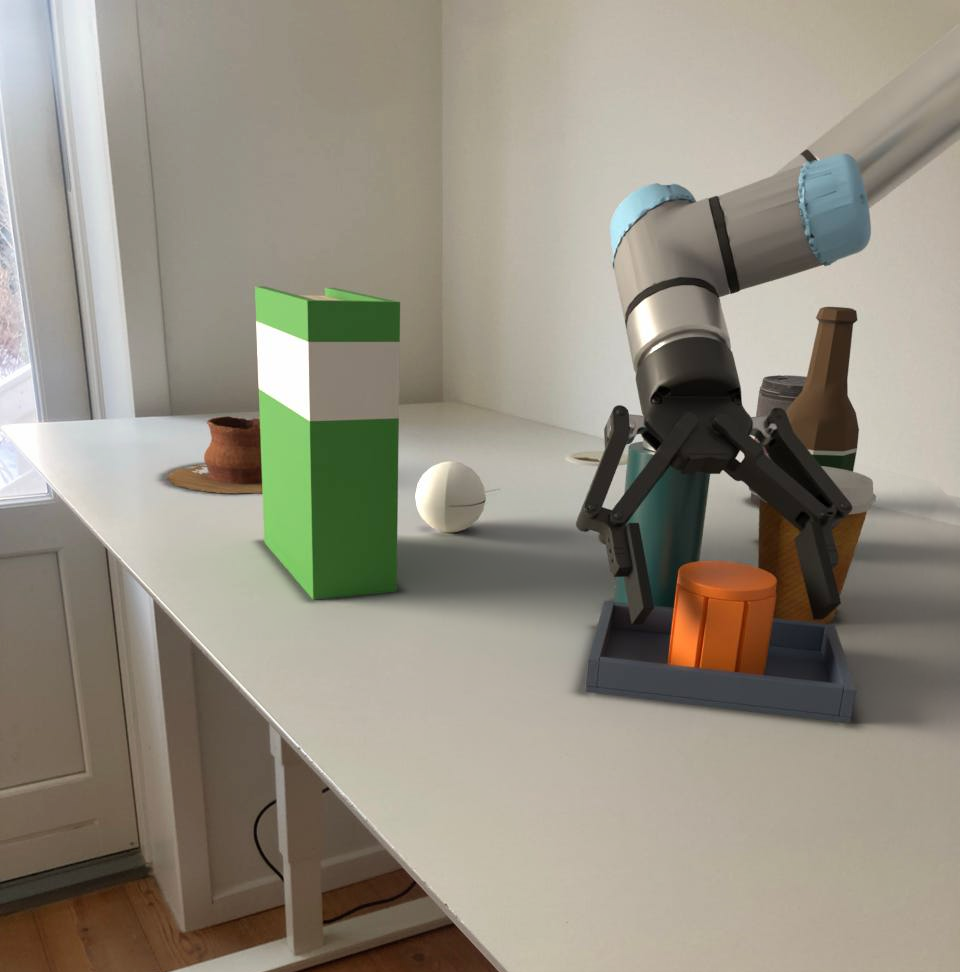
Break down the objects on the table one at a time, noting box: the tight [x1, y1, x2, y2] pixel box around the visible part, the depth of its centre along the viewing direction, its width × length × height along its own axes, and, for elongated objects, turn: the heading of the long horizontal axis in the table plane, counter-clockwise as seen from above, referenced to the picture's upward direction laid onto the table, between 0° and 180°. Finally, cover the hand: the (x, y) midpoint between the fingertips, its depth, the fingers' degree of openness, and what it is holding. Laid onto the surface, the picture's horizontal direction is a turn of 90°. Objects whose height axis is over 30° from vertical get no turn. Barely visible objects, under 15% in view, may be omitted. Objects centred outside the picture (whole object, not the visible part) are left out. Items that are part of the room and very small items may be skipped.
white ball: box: [415, 461, 501, 534], centre depth 107 cm, size 10×7×7 cm
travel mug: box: [748, 374, 807, 508], centre depth 121 cm, size 8×8×15 cm
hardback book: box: [254, 285, 401, 601], centre depth 90 cm, size 18×7×24 cm, turn 24°
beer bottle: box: [786, 306, 860, 472], centre depth 102 cm, size 8×8×24 cm
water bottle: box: [613, 438, 711, 608], centre depth 83 cm, size 7×7×16 cm
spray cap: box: [668, 560, 777, 675], centre depth 73 cm, size 7×7×7 cm
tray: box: [584, 600, 858, 724], centre depth 74 cm, size 18×13×3 cm
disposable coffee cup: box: [757, 466, 877, 624], centre depth 86 cm, size 10×10×12 cm
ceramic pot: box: [165, 416, 263, 494], centre depth 125 cm, size 18×18×7 cm
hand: (736, 614), depth 71 cm, fingers open, 13 cm apart
